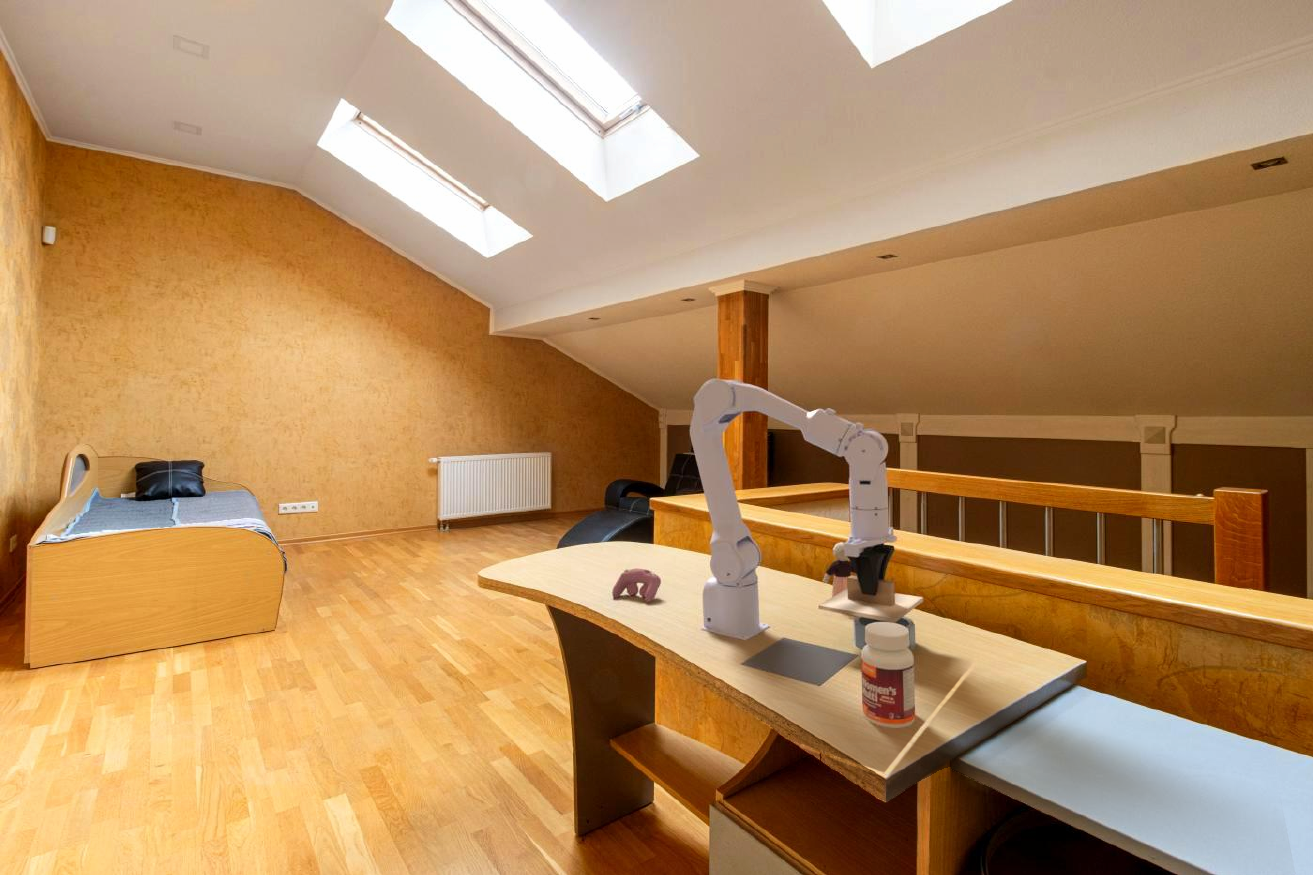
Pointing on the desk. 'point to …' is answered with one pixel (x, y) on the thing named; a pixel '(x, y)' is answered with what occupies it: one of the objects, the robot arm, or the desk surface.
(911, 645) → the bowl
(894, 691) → the pill bottle
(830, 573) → the grandmother figurine
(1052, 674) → the desk surface
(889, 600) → the lid
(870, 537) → the robot arm
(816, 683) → the mat
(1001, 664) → the desk surface
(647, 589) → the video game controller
